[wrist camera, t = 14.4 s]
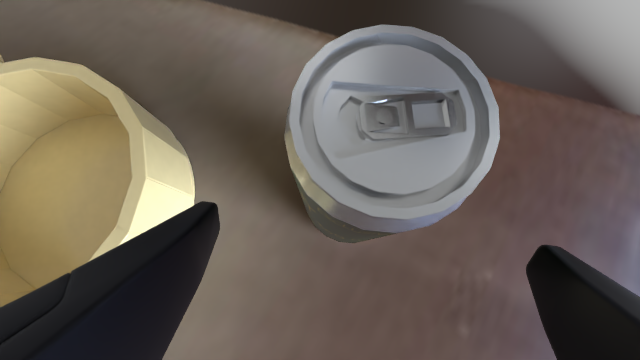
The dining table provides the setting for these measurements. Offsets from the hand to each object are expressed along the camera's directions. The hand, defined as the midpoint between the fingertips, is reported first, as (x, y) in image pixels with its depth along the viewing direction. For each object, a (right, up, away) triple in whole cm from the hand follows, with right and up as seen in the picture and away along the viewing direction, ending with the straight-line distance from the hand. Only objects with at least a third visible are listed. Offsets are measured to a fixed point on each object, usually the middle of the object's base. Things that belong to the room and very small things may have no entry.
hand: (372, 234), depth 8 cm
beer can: (0, 0, +10) cm, 10 cm away
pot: (-15, 0, +10) cm, 19 cm away
